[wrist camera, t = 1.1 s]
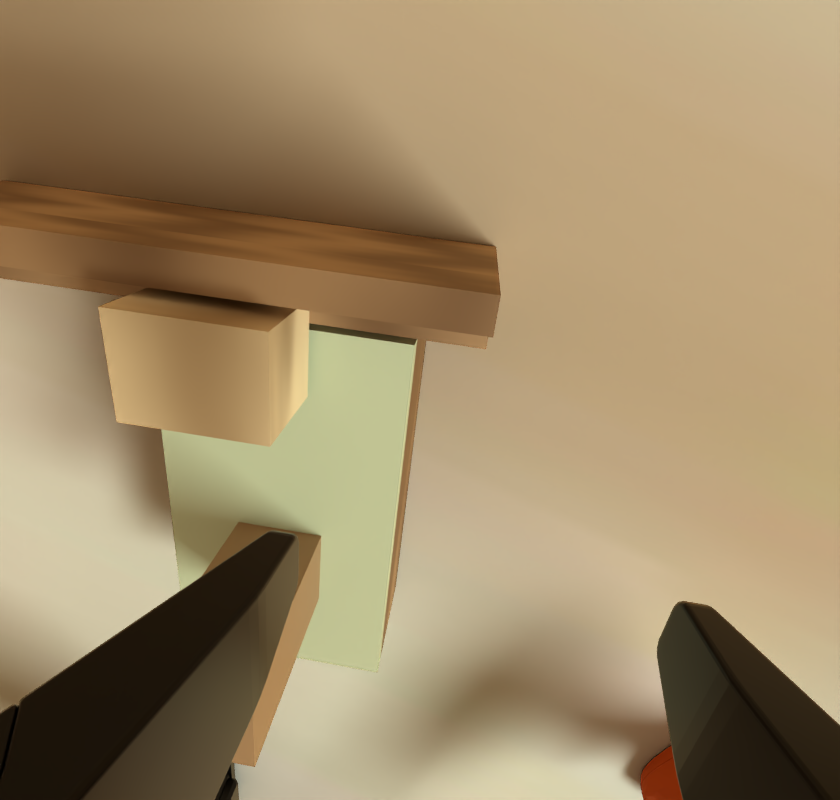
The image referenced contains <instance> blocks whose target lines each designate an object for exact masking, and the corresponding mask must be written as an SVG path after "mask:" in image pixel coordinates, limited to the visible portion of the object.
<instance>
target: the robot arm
mask: <svg viewBox="0 0 840 800" xmlns="http://www.w3.org/2000/svg"><path fill="white" fill-rule="evenodd" d="M298 573H299V540H298V537H297V536H296V535H295V534H293V533H287V532H281V531H275V530H271V531H268V532H266V533H265V534H263V535H262V536H260V537H259V538H257V539H256V540H254V541H253V542H251V543H250V544H249V545H247V546H246V547H244V548H243V549H241V550H240V551H238V552H237V553H235V554H234V555H232V556H231V557H229V558H228V559H226V560H225V561H223V562H222V563H221V564H219V565H218V566H216V567H215V568H213V569H212V570H210V571H209V572H207V573H206V574H204V575H203V576H201V577H200V578H198V579H197V580H195V581H194V582H193V583H191V584H190V585H188V586H187V587H185V588H184V589H182V590H181V591H179V592H178V593H176V594H175V595H173V596H172V597H170V598H169V599H168V600H166V601H165V602H163V603H162V604H160V605H159V606H157V607H156V608H154V609H153V610H151V611H150V612H148V613H147V614H145V615H144V616H142V617H141V618H140V619H138V620H137V621H135V622H134V623H132V624H131V625H129V626H128V627H126V628H125V629H123V630H122V631H120V632H119V633H117V634H116V635H115V636H113V637H112V638H110V639H109V640H107V641H106V642H104V643H103V644H101V645H100V646H98V647H97V648H95V649H94V650H92V651H91V652H89V653H88V654H87V655H85V656H84V657H82V658H81V659H79V660H78V661H76V662H75V663H73V664H72V665H70V666H69V667H67V668H66V669H64V670H63V671H62V672H60V673H59V674H57V675H56V676H54V677H53V678H51V679H50V680H48V681H47V682H45V683H44V684H42V685H41V686H39V687H38V688H36V689H35V690H34V691H32V692H31V693H29V694H28V695H26V696H25V697H23V698H22V699H21V700H20V702H19V706H18V705H15V704H14V705H11V706H10V707H8V708H7V709H5V710H4V711H2V712H1V713H0V800H239V794H238V783H237V780H236V779H235V769H234V763H233V762H232V760H233V758H234V756H235V753H236V751H237V749H238V747H239V745H240V742H241V740H242V738H243V736H244V733H245V731H246V729H247V727H248V725H249V722H250V720H251V718H252V716H253V714H254V711H255V709H256V706H257V704H258V702H259V699H260V697H261V694H262V691H263V688H264V686H265V683H266V680H267V677H268V674H269V671H270V668H271V665H272V662H273V659H274V656H275V653H276V650H277V647H278V644H279V641H280V638H281V635H282V632H283V629H284V626H285V623H286V620H287V617H288V614H289V611H290V608H291V604H292V601H293V598H294V595H295V592H296V588H297V584H298ZM657 659H658V665H659V672H660V678H661V684H662V690H663V696H664V703H665V709H666V715H667V721H668V727H669V734H670V740H671V746H672V752H673V758H674V763H675V769H676V774H677V778H678V783H679V787H680V791H681V795H682V799H683V800H840V725H839V724H838V723H837V722H836V721H835V720H834V719H833V718H831V717H830V716H829V715H828V714H827V713H826V712H825V711H824V710H823V709H822V708H821V707H820V706H818V705H817V704H816V703H815V702H814V701H813V700H812V699H811V698H810V697H809V696H808V695H807V694H806V693H804V692H803V691H802V690H801V689H800V688H799V687H798V686H797V685H796V684H795V683H794V682H793V681H791V680H790V679H789V678H788V677H787V676H786V675H785V674H784V673H783V672H782V671H781V670H780V669H778V668H777V667H776V666H775V665H774V664H773V663H772V662H771V661H770V660H769V659H768V658H767V657H766V656H764V655H763V654H762V653H761V652H760V651H759V650H758V649H757V648H756V647H755V646H754V645H753V644H751V643H750V642H749V641H748V640H747V639H746V638H745V637H744V636H743V635H742V634H741V633H740V632H738V631H737V630H736V629H735V628H734V627H733V626H732V625H731V624H730V623H729V622H728V621H727V620H726V619H724V618H723V617H722V616H721V615H720V614H719V613H718V612H717V611H716V610H714V609H713V608H712V607H710V606H708V605H704V604H698V603H693V602H687V601H681V602H678V603H677V604H676V605H675V606H674V608H673V610H672V612H671V614H670V616H669V619H668V621H667V623H666V625H665V627H664V630H663V632H662V634H661V636H660V638H659V641H658V646H657Z"/></svg>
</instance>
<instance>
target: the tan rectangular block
mask: <svg viewBox="0 0 840 800" xmlns="http://www.w3.org/2000/svg"><path fill="white" fill-rule="evenodd" d="M98 310H99V316H100V322H101V329H102V335H103V341H104V347H105V353H106V360H107V366H108V372H109V378H110V385H111V391H112V397H113V403H114V409H115V416H116V422H119V423H125V424H131V425H137V426H144V427H150V428H156V429H162V430H168V431H175V432H181V433H187V434H193V435H200V436H206V437H212V438H218V439H224V440H231V441H237V442H243V443H249V444H256V445H262V446H268V447H270V446H271V445H272V444H273V442H274V441H275V440H276V438H277V437H278V436H279V434H280V433H281V432H282V430H283V429H284V428H285V426H286V425H287V424H288V422H289V421H290V420H291V418H292V417H293V416H294V414H295V413H296V412H297V410H298V409H299V408H300V406H301V405H302V404H303V402H304V401H305V400H306V398H307V397H308V355H309V311H306V310H299V309H293V308H286V307H279V306H272V305H265V304H258V303H251V302H244V301H237V300H231V299H224V298H217V297H210V296H203V295H196V294H189V293H182V292H175V291H168V290H162V289H155V288H145V289H143V290H140V291H138V292H135V293H132V294H130V295H127V296H125V297H122V298H119V299H117V300H114V301H112V302H109V303H106V304H104V305H101V306H99V307H98Z"/></svg>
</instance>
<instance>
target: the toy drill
mask: <svg viewBox="0 0 840 800" xmlns="http://www.w3.org/2000/svg"><path fill="white" fill-rule="evenodd" d="M641 790H642V795H643V799H644V800H683V799H682V795H681V791H680V787H679V783H678V778H677V774H676V769H675V763H674V758H673V752H672V746H670V747H668V748H667V749H665V750H664V751H663V752H661V753H660V754H658V755H657V756H656V757H655V758H653V759H652V760H651V761H650V762H649V763H648V764H647V765H646V767H645V768H644V769H643V772H642V774H641Z"/></svg>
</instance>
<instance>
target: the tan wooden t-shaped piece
mask: <svg viewBox="0 0 840 800" xmlns="http://www.w3.org/2000/svg"><path fill="white" fill-rule="evenodd" d="M0 278H3V279H10V280H17V281H24V282H31V283H37V284H44V285H51V286H58V287H65V288H72V289H78V290H85V291H92V292H99V293H106V294H113V295H119V296H127V295H130V294H132V293H135V292H138V291H140V290H143V289H145V288H155V289H162V290H168V291H175V292H182V293H189V294H196V295H203V296H210V297H217V298H224V299H231V300H237V301H244V302H251V303H258V304H265V305H272V306H279V307H286V308H293V309H299V310H306V311H309V323H311V324H318V325H324V326H331V327H338V328H345V329H352V330H359V331H365V332H372V333H379V334H386V335H393V336H400V337H406V338H413V339H417V347H416V355H415V364H414V373H413V381H412V390H411V398H410V407H409V416H408V424H407V433H406V441H405V450H404V459H403V467H402V476H401V485H400V493H399V502H398V510H397V519H396V528H395V536H394V545H393V553H392V562H391V571H390V579H389V588H388V596H387V605H386V614H385V622H384V631H383V640H382V648H383V643H384V638H385V634H386V629H387V624H388V619H389V615H390V610H391V605H392V601H393V596H394V591H395V587H396V579H397V571H398V563H399V555H400V547H401V539H402V531H403V523H404V515H405V507H406V499H407V491H408V482H409V474H410V466H411V458H412V450H413V442H414V434H415V426H416V418H417V410H418V402H419V394H420V386H421V378H422V369H423V361H424V353H425V345H426V340H427V341H434V342H441V343H447V344H454V345H461V346H468V347H475V348H482V349H486V346H487V341H488V337H493V335H494V329H495V324H496V318H497V313H498V307H499V302H500V296H501V294H500V283H499V273H498V263H497V252H496V247H495V246H487V245H480V244H473V243H465V242H458V241H450V240H443V239H436V238H428V237H421V236H413V235H406V234H399V233H391V232H384V231H376V230H369V229H361V228H354V227H347V226H339V225H332V224H324V223H317V222H310V221H302V220H295V219H287V218H280V217H273V216H265V215H258V214H250V213H243V212H236V211H228V210H221V209H213V208H206V207H198V206H191V205H184V204H176V203H169V202H161V201H154V200H147V199H139V198H132V197H124V196H117V195H110V194H102V193H95V192H87V191H80V190H72V189H65V188H58V187H50V186H43V185H35V184H28V183H21V182H13V181H6V180H4V181H0ZM382 648H381V652H382Z"/></svg>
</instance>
